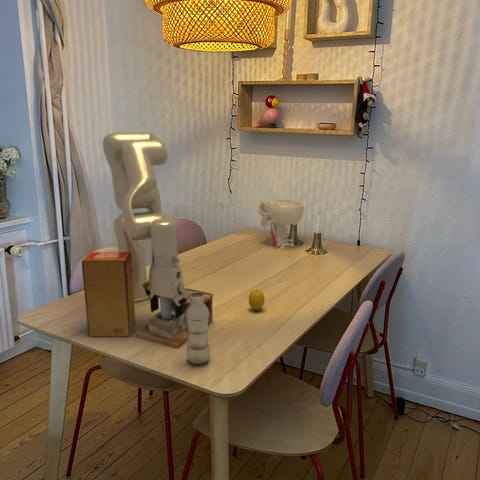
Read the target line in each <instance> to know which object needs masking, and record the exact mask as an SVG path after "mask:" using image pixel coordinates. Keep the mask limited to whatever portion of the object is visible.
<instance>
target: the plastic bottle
mask: <svg viewBox="0 0 480 480" xmlns="http://www.w3.org/2000/svg"><path fill="white" fill-rule="evenodd" d="M190 302H191V303H190V305H189V306H188V307H187V309H186V312H185V314H186V320H187V326H188V341H187V346H186V357H187V359H188V361H189V362H190V363H191V364H193V365H203V364H206V363H207V362H208V361H209V359H210V358H211V350H210V349H211V348H210V345H209V337H208V334H209V333H208V328H209V325H208V319H209V310H208V308H207V307H206V305H205V304H204V303H203V302H204V294H203V293H200V292H194V293H191V294H190Z"/></svg>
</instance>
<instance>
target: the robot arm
mask: <svg viewBox="0 0 480 480" xmlns="http://www.w3.org/2000/svg"><path fill="white" fill-rule="evenodd" d="M102 149H103V154H104V157H105V159H106V162H107V165H109V167H110V168H109V169H110V171H111V177H112V186H113V195H114V202H115V205H116V207H117V208H118V209H120V210H121V214H120V215H118V216H117V217H115V219H114V220H113V230H114V234H115V239H116V243H117V245H116V246H117V252H131V258H132V274H133V291H134V303H137V302H138V303H139V302H143V301H146V300H149V303H150V312H151V313H154V312H156V311H157V310H159V308H160V307H159V305H160V304H159V298H158V297H156V296H162V297H166V298H171V299H173V300H174V301H175V303H176V306H175V317H176V318H179V317H180V316H182V315H183V304H184V303H185V302H186V301H187V300H188V298H189V296H190V292H189V291H188V290H186V289H185V286H184V277H183V272H182V271H183V270H182V267H181V265H180V263H181V259H180V258H178V249H177V248H178V243H177V242H178V241H177V223H176V221H175V220H173V218H172V217H171V215H169V214H168V213H164V212H163V210H162V202H161V201H162V200H161V194H160V189H159V187H158V181H157V180H158V179H157V177H156V173H155V170H154V166H163V165H164V164H166V163H167V161H168V151H167V147H166V145H165V143H164V141H163V140H162V139H160V137H158V136H157V135H155V133H153V132H149V131H122V132H121V131H120V132H119V131H118V132H111V133H108V134H106V135H105V136H104V138H103V140H102ZM138 209H146V211H141V212H140V211H139V212H134V210H138ZM143 240H144V241H145V240H150V248H151V250H150V253H151V264H150V267H149V273H148V274H149V275H148V276H149V277H148V280H147V266H146V263H147V262H146V251H145V249H144V246H143V245H142V244H141V243H140V242H138V241H143ZM181 294H183V295H184V296H183V297H182V296H181ZM177 297H178V298H177ZM178 299H179V300H180V301H179V300H178Z"/></svg>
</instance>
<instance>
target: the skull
mask: <svg viewBox="0 0 480 480" xmlns="http://www.w3.org/2000/svg"><path fill="white" fill-rule="evenodd" d="M258 201H259V204H258V207H257V213H258V215H260V216H261V220H260V226H261V227H262V228H263V229H267V227H268V226H270V235H271V237H272V243H273V244H272V247H274V248H275V245H276V248H278V251H280V250H284V249H287V248H290V247H291V248H294V247H295V244H294V242H292V239H291V238H287V237H289V233H288V231H287V230H288V227H287V226H290V225H294V226H297V224H298V223H299V222H300V221H301V219H302V217H303V214H304V211H305V204H304V202H302V201H298V200H292V199H291V200H290V199H277V198H272V200H270V201H267V200H258Z"/></svg>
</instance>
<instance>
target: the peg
mask: <svg viewBox="0 0 480 480" xmlns="http://www.w3.org/2000/svg"><path fill="white" fill-rule="evenodd" d="M159 302H160V304H159V305H160V312H161V319H162V320H166V321H170V320H171V319H172V312H171V298H166V297H162V296H160V298H159Z"/></svg>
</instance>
